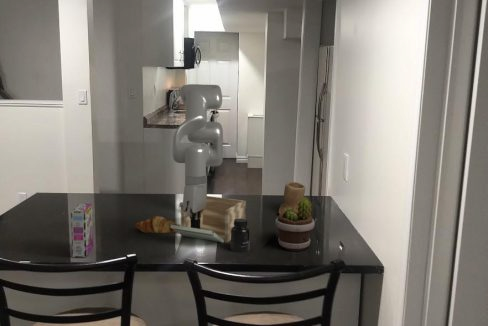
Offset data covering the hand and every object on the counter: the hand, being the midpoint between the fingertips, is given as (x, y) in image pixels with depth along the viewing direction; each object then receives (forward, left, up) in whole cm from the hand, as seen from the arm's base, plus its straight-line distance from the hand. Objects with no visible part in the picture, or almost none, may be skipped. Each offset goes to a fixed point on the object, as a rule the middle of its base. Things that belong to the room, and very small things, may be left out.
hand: (195, 229), depth 172 cm
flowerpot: (+33, +16, -7) cm, 37 cm away
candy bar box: (-33, -22, -7) cm, 40 cm away
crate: (0, +15, -7) cm, 17 cm away
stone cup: (+19, +58, -7) cm, 62 cm away
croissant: (-21, +9, -7) cm, 24 cm away
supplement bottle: (+17, +2, -7) cm, 19 cm away
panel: (0, +7, -6) cm, 9 cm away
